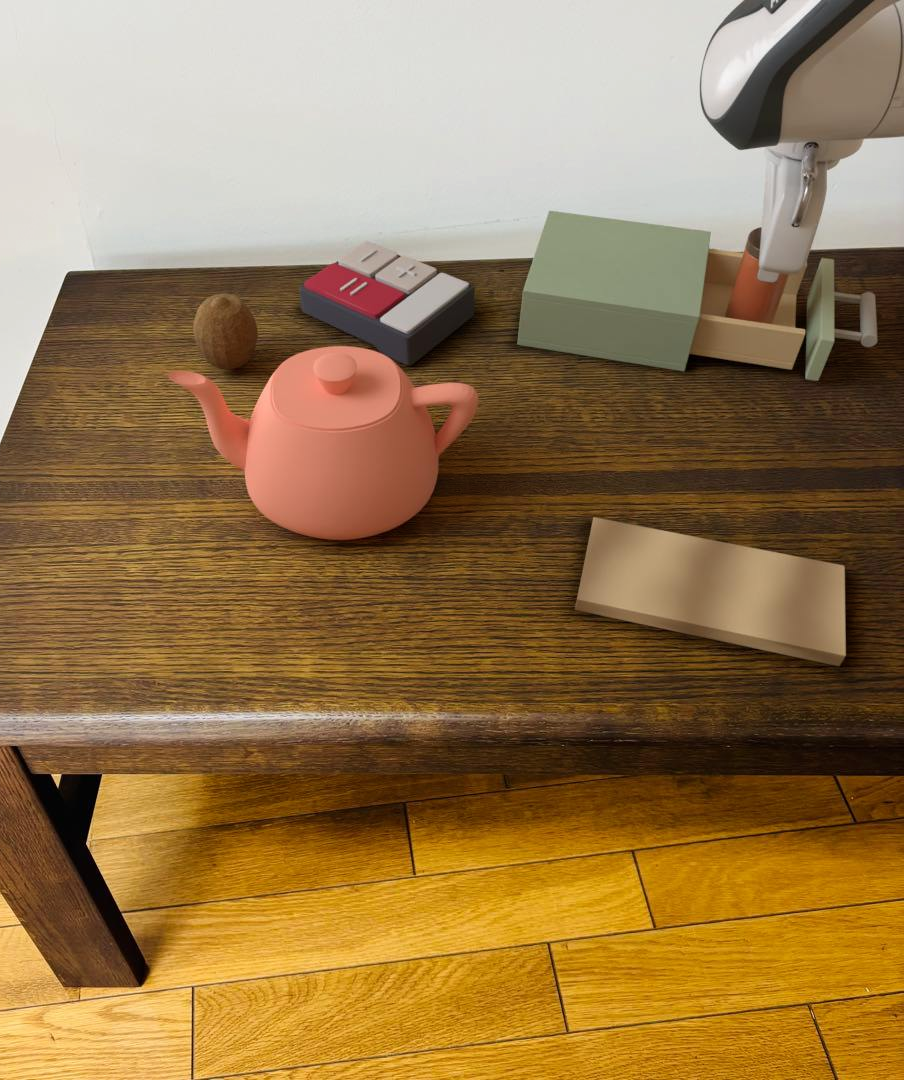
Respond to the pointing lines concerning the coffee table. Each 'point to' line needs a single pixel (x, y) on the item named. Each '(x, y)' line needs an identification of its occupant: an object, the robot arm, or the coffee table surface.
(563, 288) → the cabinet
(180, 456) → the coffee table surface
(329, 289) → the calculator
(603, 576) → the board
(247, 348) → the fruit
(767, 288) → the spice jar
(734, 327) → the drawer
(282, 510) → the teapot
